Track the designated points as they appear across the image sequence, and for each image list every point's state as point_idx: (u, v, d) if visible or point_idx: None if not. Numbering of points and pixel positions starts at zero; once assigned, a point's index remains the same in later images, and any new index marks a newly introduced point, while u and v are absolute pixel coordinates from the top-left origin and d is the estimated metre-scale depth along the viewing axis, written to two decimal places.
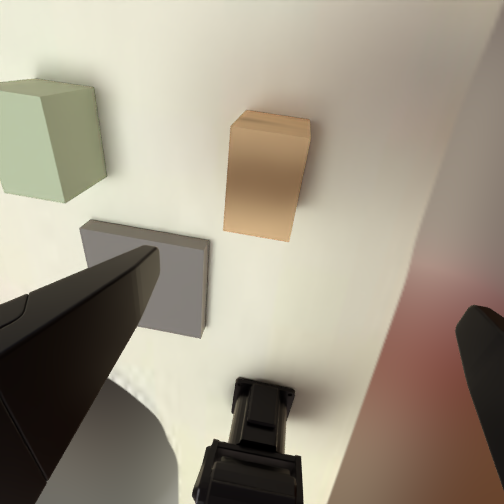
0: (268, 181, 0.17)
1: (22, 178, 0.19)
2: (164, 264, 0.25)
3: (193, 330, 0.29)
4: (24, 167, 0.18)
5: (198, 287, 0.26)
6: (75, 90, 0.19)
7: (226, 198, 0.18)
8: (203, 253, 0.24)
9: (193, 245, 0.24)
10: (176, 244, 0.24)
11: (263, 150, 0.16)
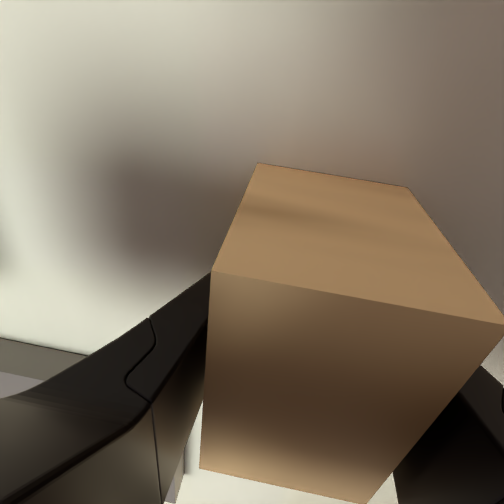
0: (330, 406, 0.06)
1: None
2: None
3: None
4: None
5: None
6: None
7: (204, 422, 0.06)
8: None
9: None
10: None
11: (324, 340, 0.05)
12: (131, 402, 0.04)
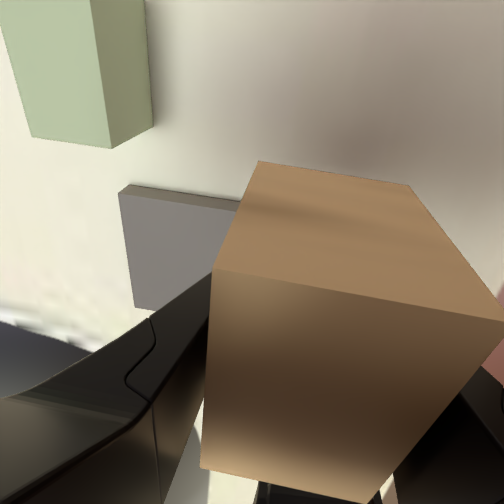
0: (332, 405, 0.06)
1: (57, 115, 0.14)
2: (221, 237, 0.21)
3: None
4: (59, 97, 0.14)
5: None
6: None
7: (205, 421, 0.06)
8: None
9: None
10: None
11: (326, 338, 0.05)
12: (130, 402, 0.04)
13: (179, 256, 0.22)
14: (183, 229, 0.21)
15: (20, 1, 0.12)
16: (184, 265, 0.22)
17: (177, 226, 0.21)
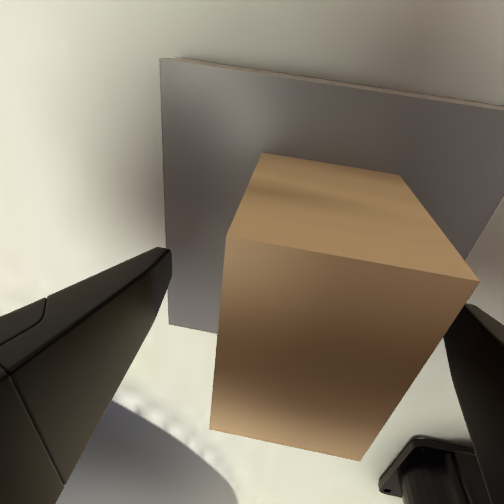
0: (327, 361, 0.06)
1: None
2: None
3: None
4: None
5: (461, 244, 0.10)
6: None
7: (216, 381, 0.07)
8: None
9: (502, 109, 0.08)
10: (459, 103, 0.08)
11: (321, 298, 0.05)
12: None
13: None
14: (304, 155, 0.09)
15: None
16: None
17: (292, 146, 0.09)
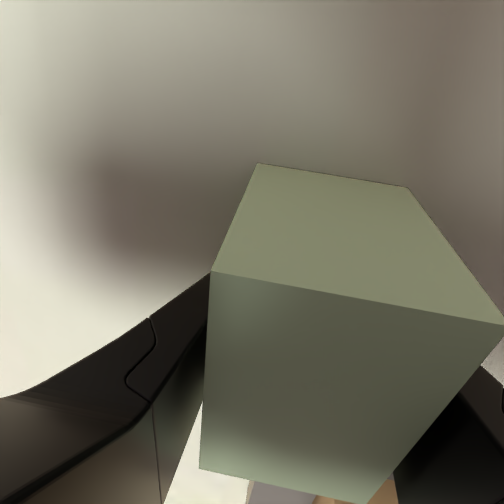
0: None
1: (271, 460, 0.07)
2: None
3: None
4: (292, 446, 0.06)
5: None
6: (427, 219, 0.07)
7: None
8: None
9: None
10: None
11: None
12: (131, 402, 0.04)
13: None
14: None
15: (283, 325, 0.05)
16: None
17: None
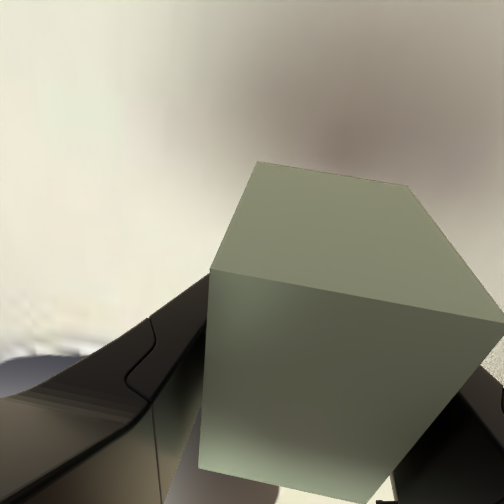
0: None
1: (270, 459, 0.07)
2: None
3: None
4: (292, 444, 0.06)
5: None
6: (427, 218, 0.07)
7: None
8: None
9: None
10: None
11: None
12: (131, 402, 0.04)
13: None
14: None
15: (283, 323, 0.05)
16: None
17: None
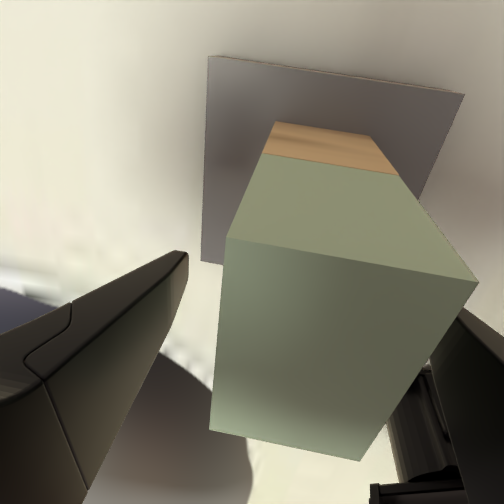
0: None
1: (275, 417, 0.08)
2: None
3: None
4: (294, 403, 0.07)
5: (415, 186, 0.14)
6: (415, 202, 0.07)
7: None
8: (458, 103, 0.12)
9: (436, 89, 0.12)
10: (406, 85, 0.12)
11: None
12: (21, 378, 0.04)
13: None
14: (304, 123, 0.13)
15: (287, 286, 0.05)
16: None
17: (296, 116, 0.13)
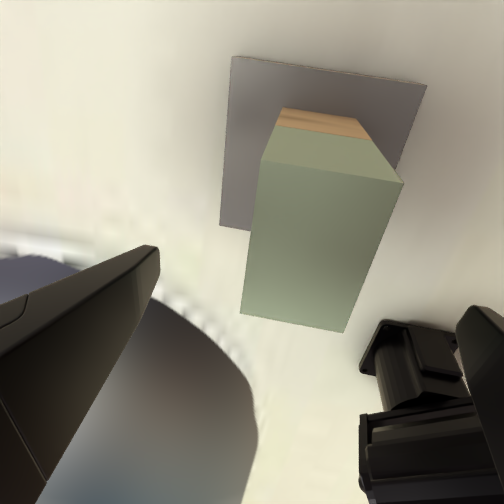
0: None
1: (285, 298, 0.11)
2: None
3: None
4: (298, 283, 0.11)
5: (392, 159, 0.18)
6: (379, 153, 0.11)
7: None
8: (423, 92, 0.16)
9: (406, 82, 0.16)
10: (383, 79, 0.16)
11: None
12: None
13: None
14: (305, 108, 0.17)
15: (295, 191, 0.09)
16: None
17: (298, 103, 0.17)
